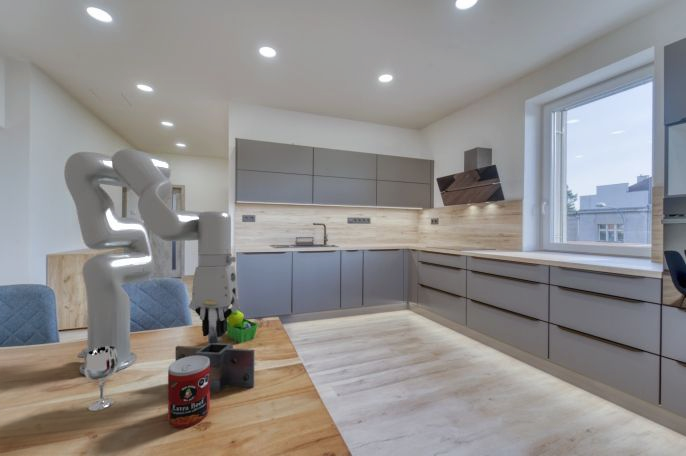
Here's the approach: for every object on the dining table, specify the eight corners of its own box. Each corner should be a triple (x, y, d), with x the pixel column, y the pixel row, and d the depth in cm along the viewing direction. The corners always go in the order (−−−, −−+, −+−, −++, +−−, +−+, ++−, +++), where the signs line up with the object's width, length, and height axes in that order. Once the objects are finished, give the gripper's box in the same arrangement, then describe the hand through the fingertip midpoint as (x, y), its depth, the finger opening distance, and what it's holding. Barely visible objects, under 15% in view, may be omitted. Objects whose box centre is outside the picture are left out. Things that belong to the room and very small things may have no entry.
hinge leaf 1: (232, 378, 77) (232, 343, 77) (219, 392, 70) (219, 354, 70) (184, 375, 78) (184, 341, 78) (167, 388, 72) (167, 351, 72)
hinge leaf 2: (194, 390, 71) (194, 353, 71) (209, 377, 78) (209, 342, 78) (247, 394, 70) (248, 356, 70) (258, 380, 76) (258, 345, 76)
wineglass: (90, 416, 61) (90, 358, 61) (80, 407, 64) (80, 352, 64) (122, 402, 66) (122, 348, 66) (111, 394, 69) (111, 343, 69)
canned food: (165, 433, 56) (165, 375, 56) (170, 409, 64) (171, 358, 64) (209, 422, 59) (209, 368, 59) (209, 401, 67) (210, 352, 67)
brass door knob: (210, 336, 77) (210, 296, 77) (229, 337, 76) (229, 296, 76) (198, 344, 72) (198, 301, 72) (218, 345, 71) (218, 301, 71)
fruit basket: (259, 338, 104) (259, 306, 104) (236, 346, 98) (236, 312, 98) (242, 331, 112) (242, 301, 112) (219, 337, 105) (219, 306, 105)
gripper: (252, 260, 77) (252, 331, 77) (193, 259, 79) (193, 328, 79) (239, 263, 69) (239, 342, 69) (174, 262, 71) (174, 338, 71)
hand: (214, 334), depth 74 cm, fingers closed on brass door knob, 3 cm apart
